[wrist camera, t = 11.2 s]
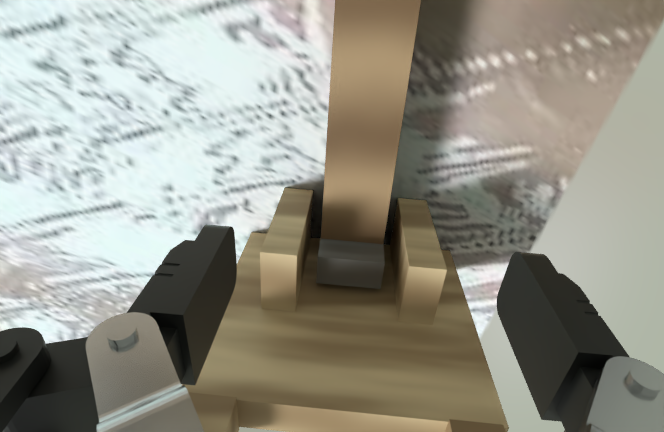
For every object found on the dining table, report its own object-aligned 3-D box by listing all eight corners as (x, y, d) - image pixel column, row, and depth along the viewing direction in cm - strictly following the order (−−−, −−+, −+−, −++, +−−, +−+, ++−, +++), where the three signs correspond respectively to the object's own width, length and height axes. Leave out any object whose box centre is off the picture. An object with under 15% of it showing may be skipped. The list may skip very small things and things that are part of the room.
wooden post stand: (249, 184, 28) (142, 370, 15) (462, 203, 28) (559, 413, 14) (252, 255, 32) (166, 466, 18) (443, 273, 31) (509, 503, 17)
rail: (343, -57, 21) (337, -72, 16) (418, -51, 21) (437, -64, 16) (324, 232, 30) (316, 283, 25) (377, 237, 30) (380, 289, 25)
